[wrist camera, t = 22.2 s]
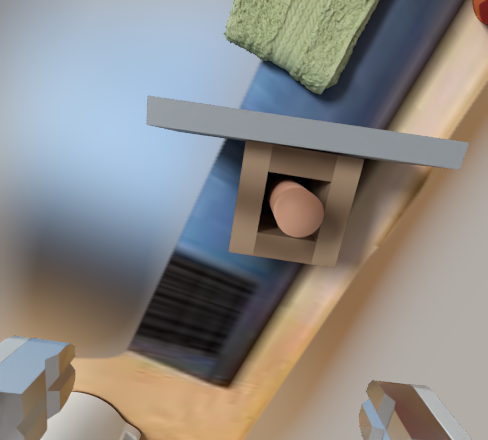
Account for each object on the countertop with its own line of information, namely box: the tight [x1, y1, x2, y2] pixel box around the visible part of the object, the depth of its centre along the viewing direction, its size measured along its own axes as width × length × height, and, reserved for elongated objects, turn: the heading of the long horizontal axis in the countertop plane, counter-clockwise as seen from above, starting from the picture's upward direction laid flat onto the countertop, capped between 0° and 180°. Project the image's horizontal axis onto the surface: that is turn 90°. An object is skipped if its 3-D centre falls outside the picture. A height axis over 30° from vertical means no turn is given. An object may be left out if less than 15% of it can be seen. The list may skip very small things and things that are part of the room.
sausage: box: [265, 174, 324, 237], centre depth 25 cm, size 4×4×12 cm
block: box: [229, 140, 364, 268], centre depth 27 cm, size 10×10×8 cm
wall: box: [147, 96, 469, 169], centre depth 25 cm, size 2×24×10 cm, turn 82°
